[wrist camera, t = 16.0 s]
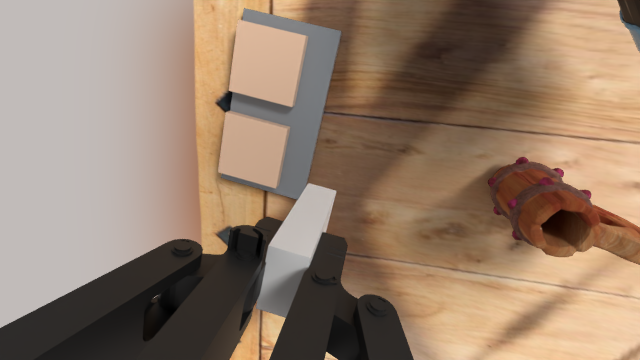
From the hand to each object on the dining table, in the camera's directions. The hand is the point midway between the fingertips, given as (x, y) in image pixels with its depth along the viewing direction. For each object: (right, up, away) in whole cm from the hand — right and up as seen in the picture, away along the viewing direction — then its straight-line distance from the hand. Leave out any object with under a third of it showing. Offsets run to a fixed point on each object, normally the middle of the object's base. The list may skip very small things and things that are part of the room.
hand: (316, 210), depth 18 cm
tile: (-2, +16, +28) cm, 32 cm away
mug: (+29, 0, +29) cm, 41 cm away
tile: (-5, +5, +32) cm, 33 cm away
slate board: (-6, +11, +32) cm, 34 cm away
